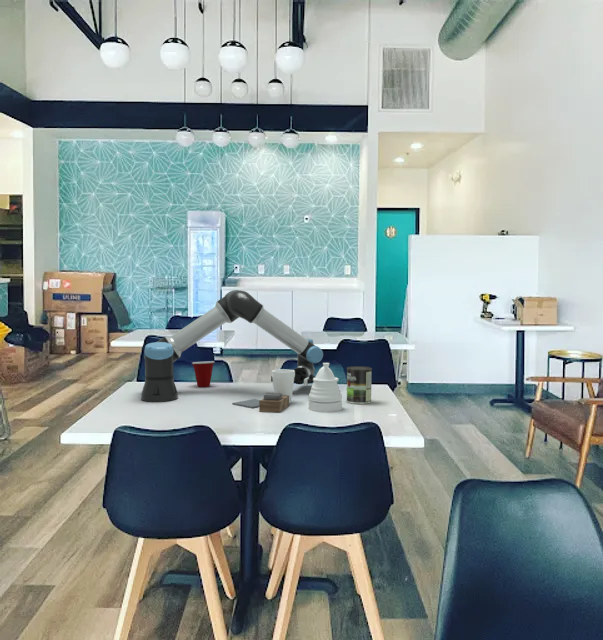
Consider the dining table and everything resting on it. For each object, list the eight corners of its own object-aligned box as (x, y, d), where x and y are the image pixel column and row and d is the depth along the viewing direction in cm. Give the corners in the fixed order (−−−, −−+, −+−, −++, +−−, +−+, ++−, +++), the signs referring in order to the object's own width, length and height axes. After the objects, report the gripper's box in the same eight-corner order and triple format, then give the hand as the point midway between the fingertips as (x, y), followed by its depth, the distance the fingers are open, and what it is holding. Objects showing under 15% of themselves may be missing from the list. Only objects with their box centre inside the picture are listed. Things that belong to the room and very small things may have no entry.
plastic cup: (207, 383, 300) (207, 359, 299) (219, 386, 292) (219, 361, 291) (187, 386, 293) (187, 361, 292) (199, 388, 285) (198, 363, 284)
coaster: (252, 408, 239) (252, 406, 239) (232, 404, 247) (232, 402, 247) (274, 404, 247) (274, 402, 247) (254, 400, 256) (254, 398, 255)
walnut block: (279, 412, 231) (279, 396, 230) (259, 411, 232) (259, 395, 232) (289, 405, 244) (289, 390, 244) (269, 404, 246) (269, 389, 246)
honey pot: (344, 411, 232) (345, 364, 232) (311, 412, 231) (311, 365, 230) (338, 405, 245) (338, 360, 244) (306, 406, 243) (306, 360, 242)
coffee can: (355, 405, 245) (355, 370, 244) (341, 401, 254) (341, 367, 253) (376, 402, 250) (376, 368, 249) (362, 398, 259) (362, 365, 258)
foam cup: (267, 401, 252) (267, 370, 251) (285, 399, 257) (285, 368, 257) (280, 405, 244) (280, 373, 244) (299, 402, 250) (299, 371, 249)
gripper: (327, 384, 277) (318, 392, 256) (274, 382, 282) (260, 389, 262) (327, 367, 276) (318, 374, 256) (274, 366, 282) (260, 372, 261)
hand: (289, 382), depth 259 cm, fingers open, 13 cm apart
